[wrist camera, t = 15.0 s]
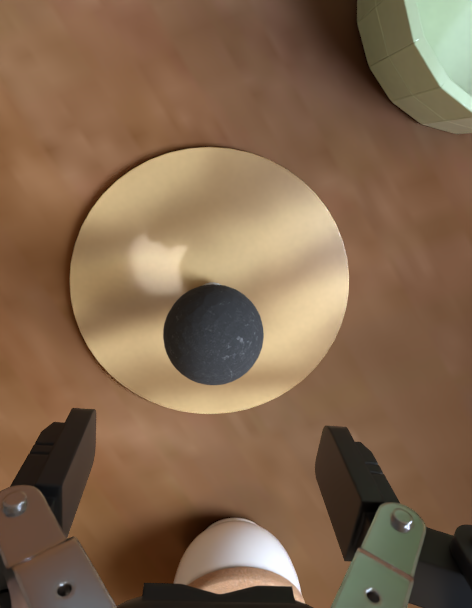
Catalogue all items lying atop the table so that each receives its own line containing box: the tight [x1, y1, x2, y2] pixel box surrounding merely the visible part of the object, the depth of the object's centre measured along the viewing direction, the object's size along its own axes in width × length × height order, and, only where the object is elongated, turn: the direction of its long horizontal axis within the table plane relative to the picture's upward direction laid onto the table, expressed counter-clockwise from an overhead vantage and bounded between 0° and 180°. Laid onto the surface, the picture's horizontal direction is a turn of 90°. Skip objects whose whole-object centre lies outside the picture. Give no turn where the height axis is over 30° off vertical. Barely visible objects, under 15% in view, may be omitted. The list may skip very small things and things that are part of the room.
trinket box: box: [174, 518, 305, 604], centre depth 35 cm, size 11×11×9 cm
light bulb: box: [163, 282, 264, 385], centre depth 26 cm, size 6×6×10 cm
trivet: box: [69, 147, 349, 414], centre depth 31 cm, size 20×20×1 cm
